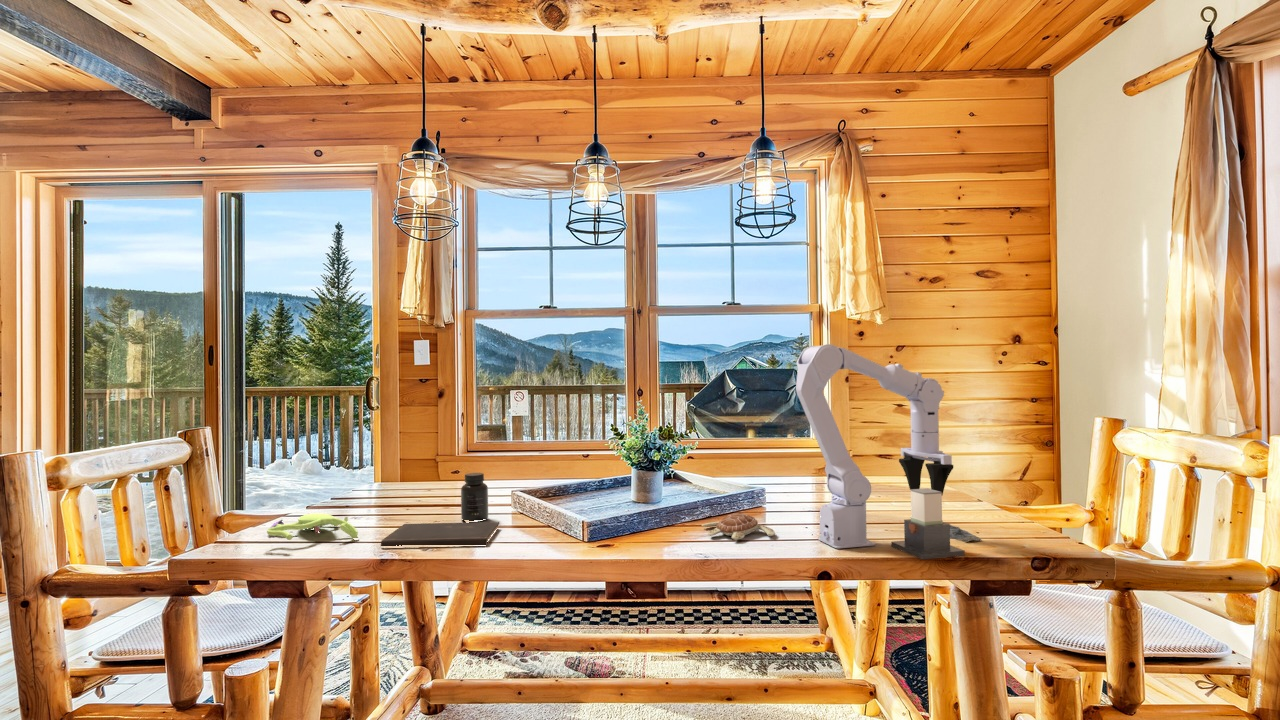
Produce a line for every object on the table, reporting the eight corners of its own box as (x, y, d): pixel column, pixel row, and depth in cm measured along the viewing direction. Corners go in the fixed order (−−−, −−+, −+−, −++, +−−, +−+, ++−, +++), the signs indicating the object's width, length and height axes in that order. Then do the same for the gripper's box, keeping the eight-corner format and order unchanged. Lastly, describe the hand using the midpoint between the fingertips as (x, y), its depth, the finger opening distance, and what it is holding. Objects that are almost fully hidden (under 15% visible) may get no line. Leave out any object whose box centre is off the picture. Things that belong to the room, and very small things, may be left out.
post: (924, 535, 132) (923, 493, 132) (910, 529, 136) (910, 489, 136) (942, 533, 133) (942, 491, 133) (928, 528, 137) (927, 488, 138)
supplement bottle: (460, 518, 170) (460, 472, 170) (487, 516, 172) (486, 471, 172) (461, 524, 163) (461, 476, 164) (489, 521, 165) (488, 475, 166)
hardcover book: (404, 533, 157) (404, 523, 157) (499, 531, 158) (499, 521, 158) (380, 551, 141) (380, 540, 141) (486, 549, 142) (486, 538, 142)
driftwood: (985, 545, 140) (985, 535, 140) (954, 545, 140) (954, 536, 140) (941, 523, 161) (940, 515, 161) (914, 524, 161) (913, 515, 161)
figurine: (267, 558, 136) (267, 531, 137) (264, 532, 159) (264, 509, 159) (361, 545, 146) (361, 520, 146) (346, 522, 169) (345, 500, 169)
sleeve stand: (922, 559, 129) (921, 529, 129) (891, 546, 138) (890, 518, 138) (964, 555, 131) (964, 525, 131) (931, 542, 141) (930, 515, 141)
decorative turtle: (787, 532, 153) (787, 511, 153) (759, 548, 139) (759, 525, 139) (719, 523, 163) (718, 503, 163) (686, 537, 149) (686, 515, 149)
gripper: (963, 434, 138) (964, 497, 138) (918, 428, 152) (919, 486, 152) (935, 435, 136) (936, 499, 136) (892, 429, 150) (893, 487, 150)
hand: (925, 492), depth 144 cm, fingers open, 7 cm apart
